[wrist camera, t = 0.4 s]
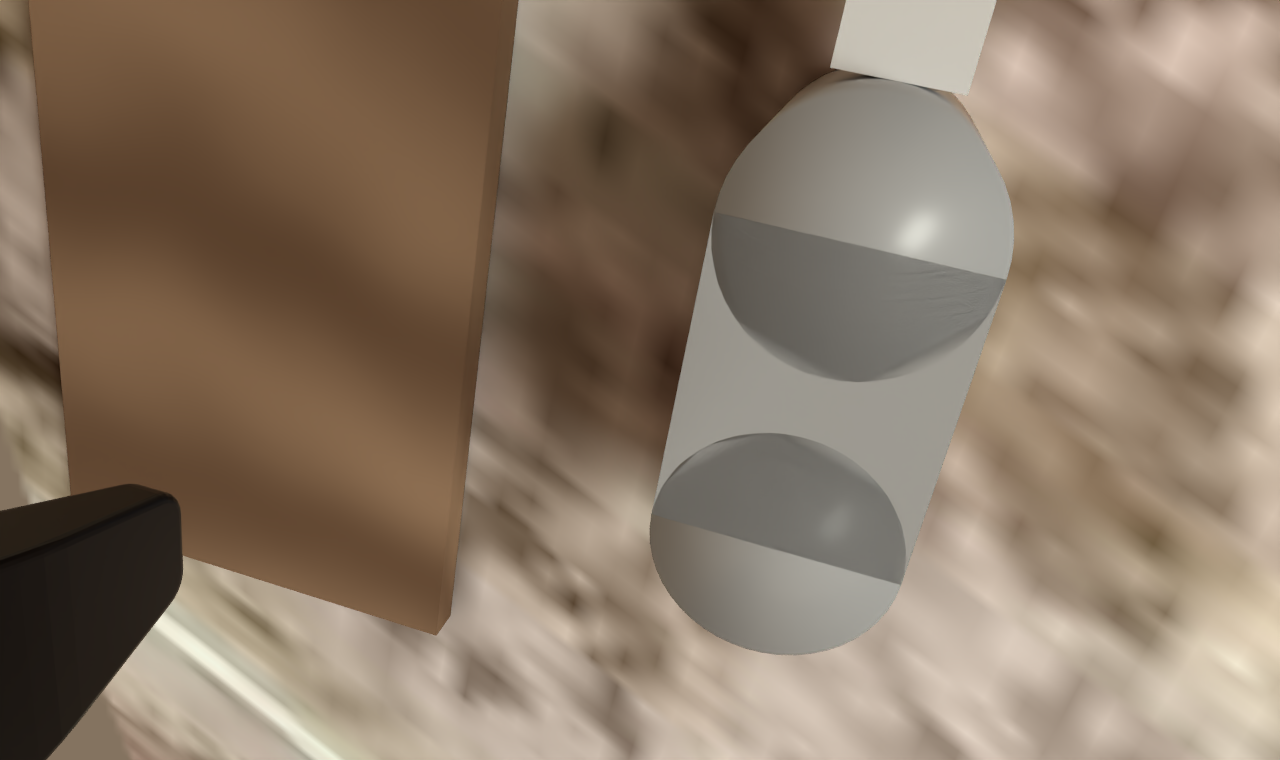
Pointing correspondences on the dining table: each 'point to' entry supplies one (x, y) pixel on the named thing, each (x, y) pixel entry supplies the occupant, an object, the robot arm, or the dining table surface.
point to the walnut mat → (278, 273)
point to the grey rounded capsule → (834, 337)
